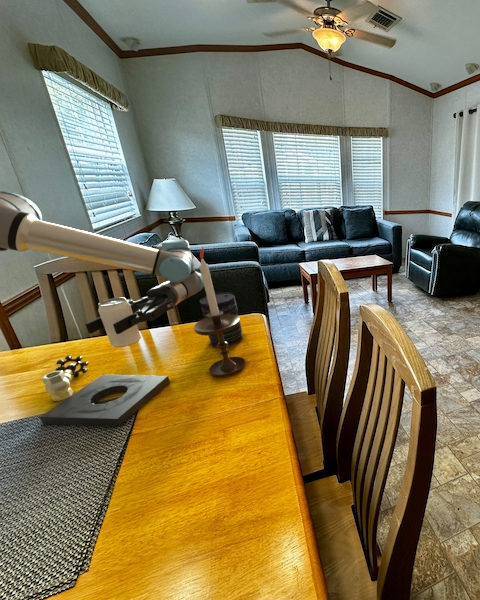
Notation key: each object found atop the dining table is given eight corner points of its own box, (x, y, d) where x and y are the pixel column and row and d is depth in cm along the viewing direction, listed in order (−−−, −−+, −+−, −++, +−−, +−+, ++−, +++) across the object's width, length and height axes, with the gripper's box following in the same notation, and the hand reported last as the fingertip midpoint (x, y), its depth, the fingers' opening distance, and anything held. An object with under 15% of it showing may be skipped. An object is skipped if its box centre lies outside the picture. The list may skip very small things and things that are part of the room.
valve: (77, 397, 81) (93, 372, 91) (67, 375, 79) (84, 352, 89) (41, 405, 78) (61, 379, 88) (29, 383, 76) (51, 358, 86)
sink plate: (42, 424, 73) (38, 416, 72) (105, 380, 88) (102, 374, 87) (120, 426, 72) (117, 419, 71) (170, 382, 87) (168, 375, 86)
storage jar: (220, 350, 102) (210, 306, 96) (204, 342, 107) (192, 300, 101) (249, 337, 109) (241, 296, 104) (232, 330, 114) (223, 290, 109)
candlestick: (250, 355, 99) (227, 240, 86) (246, 375, 90) (219, 250, 77) (210, 361, 96) (180, 243, 83) (202, 382, 87) (166, 253, 73)
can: (129, 348, 86) (114, 306, 82) (105, 347, 86) (88, 306, 82) (147, 336, 92) (134, 297, 88) (124, 336, 92) (110, 296, 88)
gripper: (199, 307, 105) (144, 342, 83) (140, 306, 105) (70, 341, 84) (193, 285, 102) (135, 316, 80) (133, 284, 103) (59, 314, 81)
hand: (102, 328), depth 82 cm, fingers closed on can, 6 cm apart
